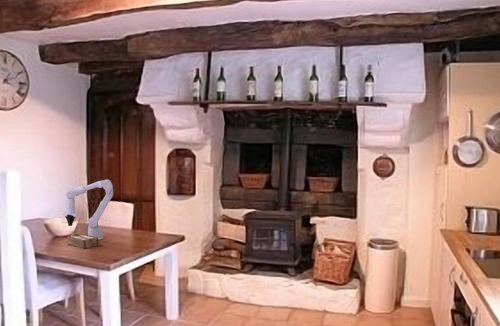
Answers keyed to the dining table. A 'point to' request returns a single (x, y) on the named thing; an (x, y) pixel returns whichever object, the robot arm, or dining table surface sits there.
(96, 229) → the robot arm
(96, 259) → the dining table surface
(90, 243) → the keepsake box
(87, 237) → the lid
